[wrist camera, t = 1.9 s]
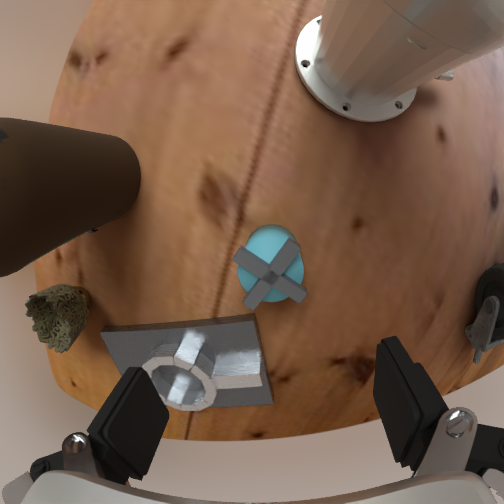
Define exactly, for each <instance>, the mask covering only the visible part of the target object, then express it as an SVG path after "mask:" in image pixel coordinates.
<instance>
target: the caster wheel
mask: <svg viewBox="0 0 504 504" xmlns="http://www.w3.org/2000/svg"><path fill="white" fill-rule="evenodd" d="M476 308H477V313H478V316H477V318H476V320H475V322H474V323H473V324H470V325H468V326H466V328H465V334H466V335H467V338H468V339H470V343H471V346H472V347H473V348H475V349H476V351H475V355H474V359H473V362H474V363H475V364H477V363H479V362H480V358H481V355H482V351H483V352H484V353H485V352H487V350H489V349H491V348H493V347H495V346H497V345H499V344H501V343H503V342H504V263H502V264H498V265H495V266H492V267H491V268H489V269H488V270H486V271H485V272H484V274H483V275H482V277H481V279H480V281H479V284H478V288H477V292H476Z"/></svg>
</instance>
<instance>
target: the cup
mask: <svg viewBox="0 0 504 504" xmlns="http://www.w3.org/2000/svg"><path fill="white" fill-rule="evenodd" d="M29 298H30V299H29V300H28V301H27V302H26V303H25V306H26V307H27V308H28V310H27V312H26V316H28V317H31V316H32V317H33V320H34V322H35V324H34V325H33V326H32V330H33V331H36V332H37V335H38V338H39V341H40V342H44V343H49V344H47V345H48V348H49V349H51V348H53V347H54V346H55V352H60V353H62V352H64V351H66V352H67V351H68V349H69V348H70V347H71V345H72V344H73V343H74V341H75V340H76V339H77V337H78V336H79V335H80V333H81V332H82V330H83V329H84V327H85V325H86V323H87V320H88V310H89V308H90V304H91V301H90V297H89V294H88V293H87V291H86V290H85V289H83V288H82V287H80V286H73V287H72V286H70V285H66V284H59V285H55V286H52V287H49V288H47V289H45V290H42V291H40V292H38V293H36V294H34V295H31V296H29ZM67 348H68V349H67Z"/></svg>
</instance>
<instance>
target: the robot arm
mask: <svg viewBox="0 0 504 504" xmlns="http://www.w3.org/2000/svg"><path fill="white" fill-rule="evenodd" d="M503 46H504V0H326V3H325V7H324V10H323V13H322V15H321V16H319V17H317V18H315V19H313V20H311V21H310V22H309V23H308V24H306V25H305V26H304V28H303V29H302V31H301V32H300V33H299V36H298V38H297V41H296V46H295V64H296V68H297V72H298V74H299V76H300V78H301V81H302V82H303V84H304V85H305V87H306V88H307V90H308V91H309V92H310V93H311V94H312V95H313V96H314V97H315V98H316V100H317V101H319V102H320V103H321V104H323V105H324V106H325V107H326V108H328V109H329V110H331V111H333V112H335V113H337V114H338V115H341V116H343V117H346V118H348V119H351V120H356V121H360V122H380V121H386V120H388V119H391V118H394V117H396V116H398V115H399V114H401V113H403V112H404V111H405V110H406V109H407V108H408V107H409V106H410V104H411V103H412V101H413V100H414V97H415V94H416V91H417V87H418V86H420V85H422V84H424V83H426V82H427V81H429V80H431V79H433V78H435V79H438V80H445V81H451V80H452V79H453V69H454V68H456V67H458V66H461V65H463V64H465V63H467V62H469V61H472V60H474V59H476V58H478V57H481V56H483V55H485V54H488V53H490V52H492V51H494V50H496V49H499V48H501V47H503ZM302 65H306V66H307V68H305V67H303V66H302ZM395 105H396V106H397V108H396V106H395ZM343 107H346V108H347V111H345V110H343ZM373 397H374V400H375V403H376V406H377V409H378V411H379V414H380V417H381V420H382V423H383V426H384V429H385V431H386V435H387V438H388V441H389V444H390V447H391V450H392V453H393V456H394V459H395V462H396V463H398V462H400V463H401V466H402V468H403V467H406V466H409V465H410V468H411V470H412V471H414V472H413V474H412V476H411V478H409V479H405V480H401V481H398V482H394V483H390V484H386V485H382V486H379V487H375V488H371V489H367V490H363V491H358V492H353V493H348V494H343V495H337V496H332V497H325V498H319V499H311V500H302V501H292V502H291V501H290V502H275V503H233V502H232V503H231V502H216V501H205V500H196V499H189V498H182V497H175V496H169V495H164V494H159V493H154V492H150V491H146V490H141V489H137V488H133V487H131V486H130V484H129V481H128V478H129V476H130V477H131V478H133V479H138V480H141V481H142V478H143V476H144V475H146V474H147V472H148V470H149V467H150V464H151V462H152V460H153V457H154V455H155V452H156V449H157V447H158V445H159V442H160V439H161V437H162V435H163V432H164V430H165V427H166V425H167V422H168V420H169V411H168V409H167V408H166V406H165V404H164V402H163V401H162V399H161V397H160V395H159V393H158V392H157V390H156V388H155V386H154V384H153V382H152V380H151V378H150V376H149V374H148V373H147V371H146V370H144V369H143V368H142V367H129V368H128V369H127V370H126V371H125V373H124V374H123V376H122V377H121V379H120V380H119V382H118V383H117V385H116V386H115V388H114V389H113V391H112V392H111V394H110V395H109V397H108V398H107V400H106V401H105V403H104V404H103V406H102V407H101V409H100V410H99V412H98V413H97V415H96V416H95V418H94V419H93V421H92V423H91V424H90V426H89V427H88V429H87V432H88V433H89V435H88V436H87V435H85V434H84V433H82V432H76V433H73V434H71V435H69V436H68V437H66V439H65V440H64V441H63V444H62V451H59V452H56V453H54V454H51V455H48V456H45V457H42V458H39V459H37V460H36V461H35V462H34V463H33V464H32V466H31V468H30V473H29V472H28V471H27V472H26V473H24V474H23V475H21V476H20V477H18V478H16V479H15V480H14V481H12V482H10V483H9V484H7V485H6V486H5V487H4V488H3V490H2V496H3V499H4V502H5V504H497V502H496V500H495V498H494V496H493V494H492V492H491V490H490V488H493V489H494V490H496V491H497V493H496V494H497V495H499V496H501V497H502V498H503V499H504V429H503V428H498V427H492V426H487V425H482V424H477V422H478V421H477V417H476V415H475V414H474V413H473V412H472V411H471V410H469V409H467V408H463V407H456V408H452V409H450V410H449V408H448V407H447V405H446V403H445V402H444V400H443V398H442V397H441V395H440V393H439V392H438V390H437V388H436V387H435V385H434V383H433V382H432V380H431V379H430V377H429V375H428V374H427V372H426V371H425V369H424V367H423V366H422V365H421V364H420V363H415V364H414V363H413V361H412V359H411V358H410V356H409V355H408V353H407V351H406V350H405V348H404V347H403V345H402V344H401V342H400V341H399V339H398V338H397V336H392V337H388V338H384V339H382V340H381V343H380V344H377V351H376V366H375V377H374V388H373Z"/></svg>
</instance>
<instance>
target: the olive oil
mask: <svg viewBox="0 0 504 504" xmlns="http://www.w3.org/2000/svg"><path fill="white" fill-rule="evenodd" d="M139 184H140V168H139V163H138V159H137V157H136V154H135V153H134V151H133V149H132V148H131V147H130V145H129V144H128V143H127V142H125V141H124V140H122V139H120V138H118V137H115V136H111V135H106V134H101V133H95V132H90V131H84V130H79V129H74V128H69V127H63V126H57V125H52V124H46V123H39V122H34V121H27V120H21V119H14V118H0V277H4V276H7V275H10V274H12V273H14V272H17V271H18V270H20V269H22V268H23V267H25V266H26V265H28V264H30V263H31V262H33V261H35V260H37V259H38V258H40V257H42V256H43V255H45V254H47V253H49V252H50V251H52V250H54V249H56V248H57V247H59V246H61V245H63V244H65V243H67V242H69V241H71V240H73V239H74V238H76V237H78V236H80V235H82V234H84V233H86V232H89V233H92V232H95V231H97V230H95V229H94V228H96V227H99V226H101V225H103V224H106V223H108V222H110V221H112V220H115V219H117V218H119V217H120V216H122V215H123V214H124V213H125V212H126V211H127V210H128V209H129V208H130V207H131V205H132V204H133V202H134V200H135V198H136V196H137V193H138V189H139Z"/></svg>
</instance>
